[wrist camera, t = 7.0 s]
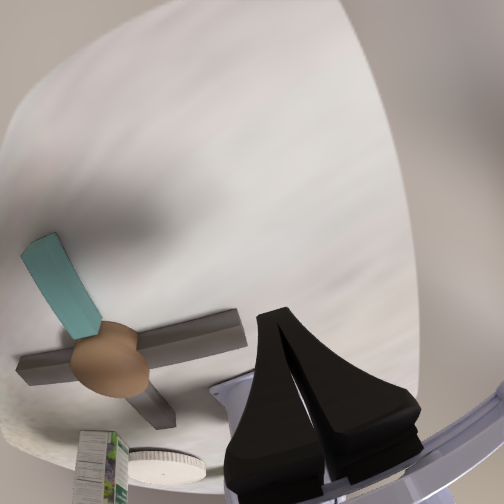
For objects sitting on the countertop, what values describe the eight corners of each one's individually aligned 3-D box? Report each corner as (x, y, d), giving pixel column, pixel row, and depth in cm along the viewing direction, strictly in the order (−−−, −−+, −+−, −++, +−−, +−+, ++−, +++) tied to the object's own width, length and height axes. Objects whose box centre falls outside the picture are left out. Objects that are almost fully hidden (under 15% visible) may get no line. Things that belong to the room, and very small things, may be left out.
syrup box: (130, 447, 34) (131, 534, 21) (96, 446, 33) (92, 528, 20) (114, 430, 31) (112, 528, 18) (78, 429, 30) (69, 520, 18)
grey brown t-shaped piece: (265, 392, 31) (271, 414, 28) (85, 422, 29) (83, 441, 27) (229, 287, 23) (235, 312, 20) (8, 341, 21) (-1, 362, 19)
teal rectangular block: (102, 317, 22) (97, 334, 20) (79, 323, 22) (73, 339, 20) (55, 232, 18) (44, 245, 16) (31, 242, 17) (20, 255, 16)
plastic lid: (201, 444, 36) (203, 459, 33) (206, 472, 42) (208, 484, 40) (108, 442, 33) (107, 456, 31) (132, 472, 40) (132, 483, 37)
